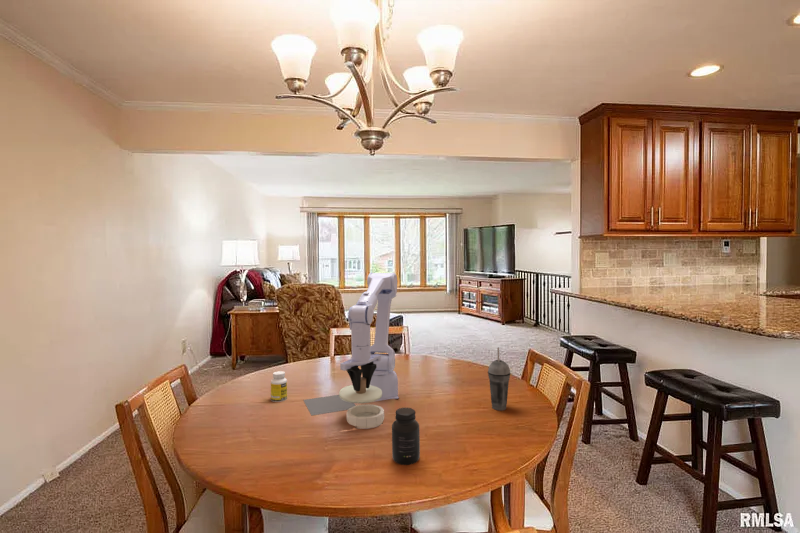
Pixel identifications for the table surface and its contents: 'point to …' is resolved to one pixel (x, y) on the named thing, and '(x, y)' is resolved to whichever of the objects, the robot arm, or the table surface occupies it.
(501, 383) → the beverage cup
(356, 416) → the bowl
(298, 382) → the table surface
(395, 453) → the supplement bottle
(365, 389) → the lid
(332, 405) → the mat
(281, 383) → the supplement bottle
